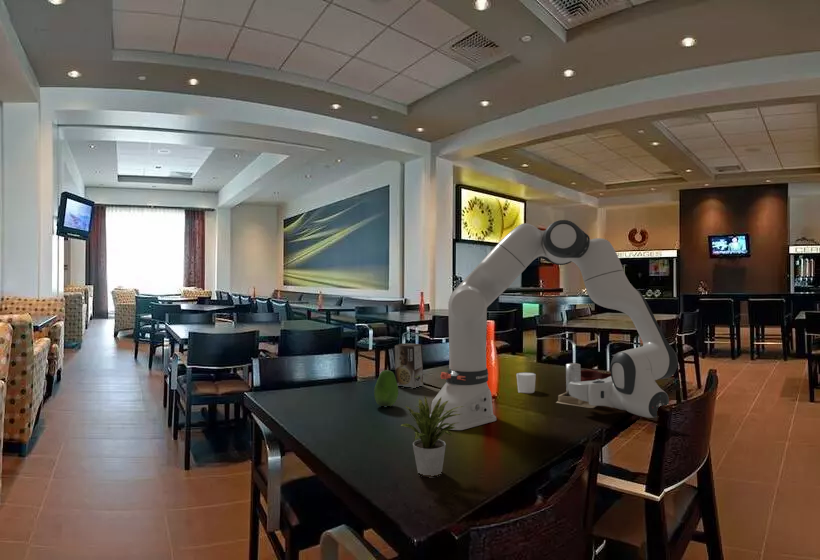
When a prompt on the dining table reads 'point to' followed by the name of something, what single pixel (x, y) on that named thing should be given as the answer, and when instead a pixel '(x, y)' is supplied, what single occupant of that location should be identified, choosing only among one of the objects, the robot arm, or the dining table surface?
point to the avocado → (386, 389)
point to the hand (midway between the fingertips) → (584, 382)
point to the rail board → (573, 401)
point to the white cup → (526, 382)
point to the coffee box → (409, 364)
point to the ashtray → (593, 375)
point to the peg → (572, 375)
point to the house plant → (430, 437)
